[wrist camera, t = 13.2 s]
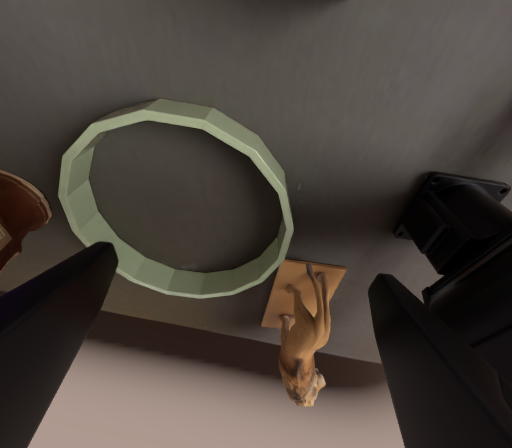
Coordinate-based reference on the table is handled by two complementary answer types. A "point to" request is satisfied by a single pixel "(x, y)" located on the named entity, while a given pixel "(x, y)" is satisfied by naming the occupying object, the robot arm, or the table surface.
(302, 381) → the lion figurine
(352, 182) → the table surface
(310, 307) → the cork mat
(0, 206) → the coffee cup
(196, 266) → the table surface
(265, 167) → the pale green faceted ring
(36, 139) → the table surface
